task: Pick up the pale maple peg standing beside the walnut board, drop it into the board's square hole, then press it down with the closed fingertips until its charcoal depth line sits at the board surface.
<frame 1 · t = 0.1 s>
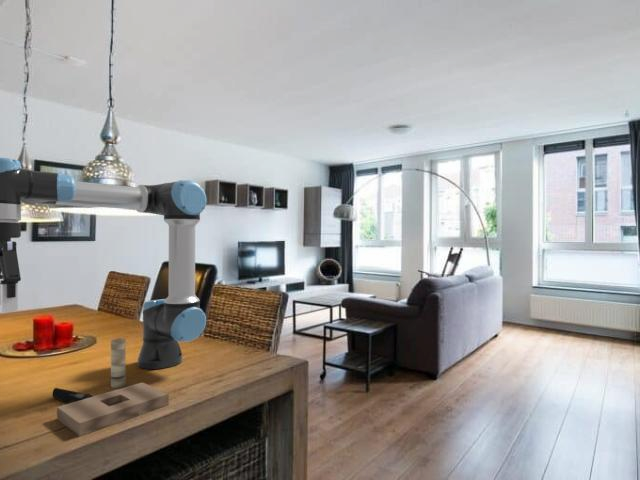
hand: (1, 308, 98), 28 cm above the table, tool pointing down, fingers open, 13 cm apart
electric trimmer: (73, 403, 110), on the table
walnut board: (115, 411, 104), on the table
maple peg: (118, 385, 122), on the table
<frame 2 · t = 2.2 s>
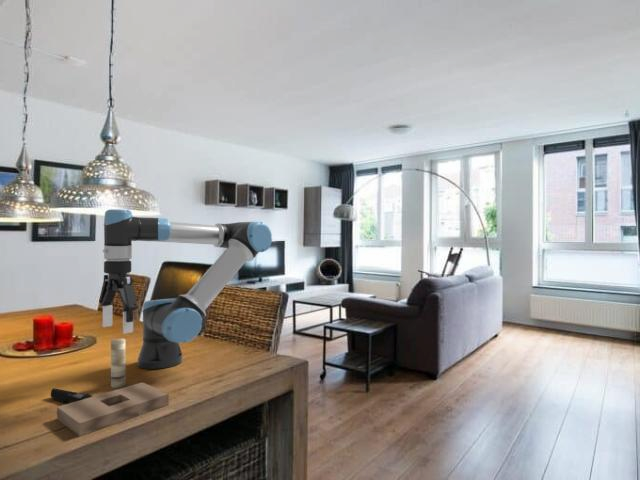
hand: (117, 329, 122), 17 cm above the table, tool pointing down, fingers open, 13 cm apart
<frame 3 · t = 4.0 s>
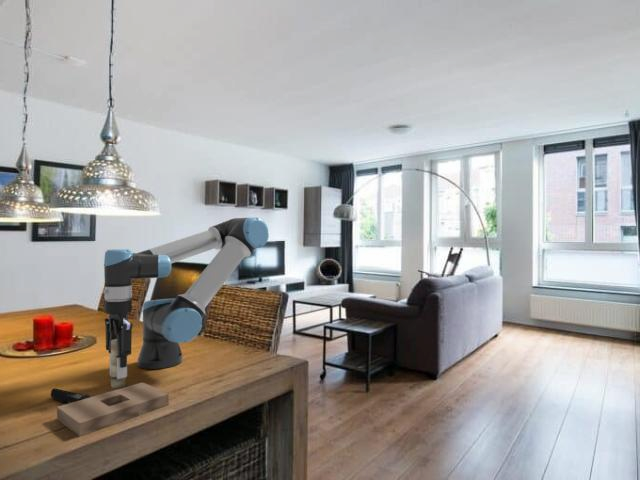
hand: (118, 375, 122), 3 cm above the table, tool pointing down, fingers closed on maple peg, 4 cm apart
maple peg: (118, 385, 122), on the table, touching gripper
everything else where it was.
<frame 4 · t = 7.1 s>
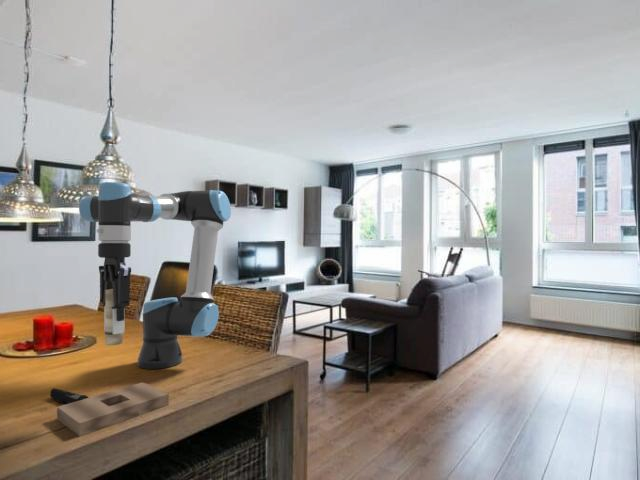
hand: (114, 331, 104), 21 cm above the table, tool pointing down, fingers closed on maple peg, 4 cm apart
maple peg: (113, 343, 104), point 18 cm above the table, touching gripper
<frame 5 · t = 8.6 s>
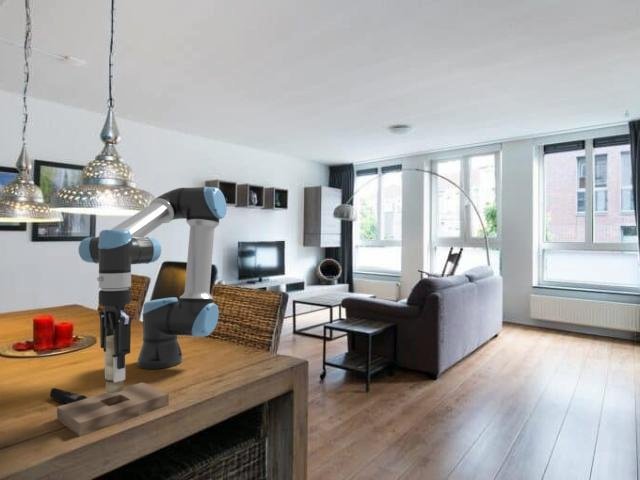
hand: (115, 378, 104), 9 cm above the table, tool pointing down, fingers closed on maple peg, 4 cm apart
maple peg: (114, 390, 104), point 6 cm above the table, touching gripper
everything else where it was.
when the fingers open (5 cm above the table, at t = 9.7 s): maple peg drops 2 cm, resting in walnut board.
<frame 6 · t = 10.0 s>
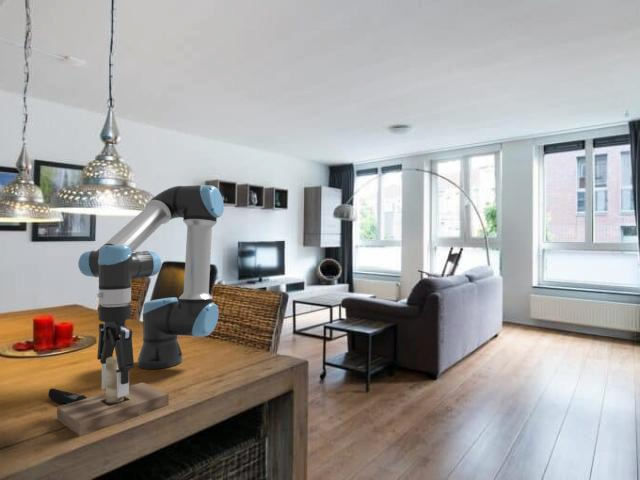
hand: (115, 391, 104), 5 cm above the table, tool pointing down, fingers open, 8 cm apart
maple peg: (114, 411, 104), resting in walnut board
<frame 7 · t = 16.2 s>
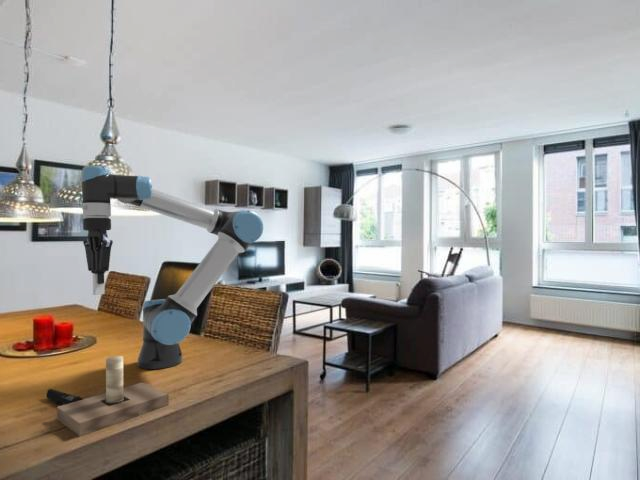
hand: (98, 294, 122), 28 cm above the table, tool pointing down, fingers closed
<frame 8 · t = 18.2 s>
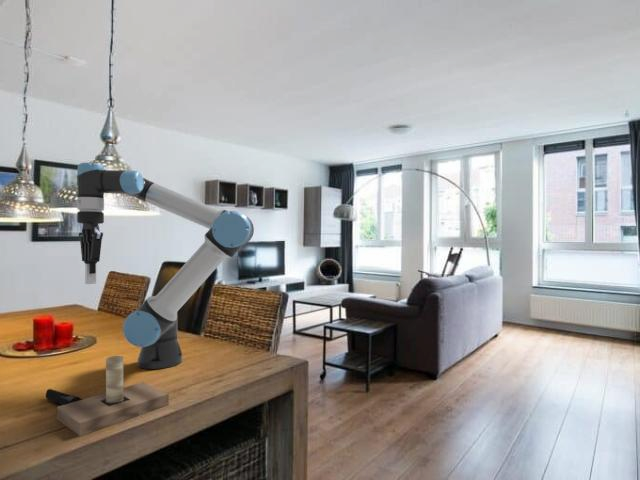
hand: (90, 283, 130), 30 cm above the table, tool pointing down, fingers closed
at the end: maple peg 0.1 cm off-centre on the walnut board, point 0.0 cm above the walnut board's base; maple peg tilted 0°; the gripper is holding nothing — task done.
